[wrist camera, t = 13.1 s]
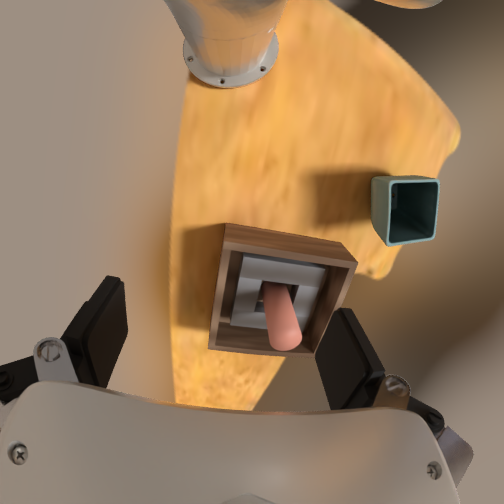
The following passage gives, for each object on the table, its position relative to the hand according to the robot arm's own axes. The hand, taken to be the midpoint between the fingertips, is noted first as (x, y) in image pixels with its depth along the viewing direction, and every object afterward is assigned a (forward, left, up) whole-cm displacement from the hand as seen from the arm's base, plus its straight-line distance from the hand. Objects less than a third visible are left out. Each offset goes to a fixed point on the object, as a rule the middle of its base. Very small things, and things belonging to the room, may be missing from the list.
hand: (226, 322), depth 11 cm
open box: (+14, +9, -28) cm, 33 cm away
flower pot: (-4, +23, -28) cm, 37 cm away
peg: (+14, +9, -27) cm, 32 cm away
